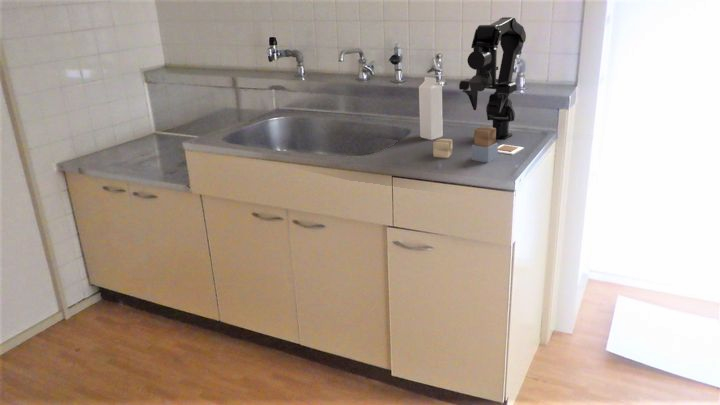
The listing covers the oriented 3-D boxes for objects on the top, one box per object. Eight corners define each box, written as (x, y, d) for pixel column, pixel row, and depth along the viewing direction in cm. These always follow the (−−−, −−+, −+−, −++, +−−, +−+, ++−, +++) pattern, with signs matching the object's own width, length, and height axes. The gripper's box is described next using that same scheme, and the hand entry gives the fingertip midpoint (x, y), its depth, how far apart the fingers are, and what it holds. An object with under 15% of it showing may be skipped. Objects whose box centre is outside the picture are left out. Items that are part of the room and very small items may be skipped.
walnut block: (481, 141, 197) (482, 126, 195) (495, 143, 194) (496, 128, 192) (474, 145, 193) (474, 130, 191) (488, 147, 190) (488, 131, 188)
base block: (481, 155, 199) (481, 140, 197) (497, 157, 195) (497, 143, 194) (471, 160, 195) (471, 145, 193) (488, 162, 191) (488, 147, 189)
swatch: (502, 145, 208) (502, 143, 207) (523, 148, 203) (524, 146, 202) (491, 151, 202) (491, 149, 202) (512, 154, 197) (513, 152, 197)
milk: (431, 140, 220) (429, 79, 211) (419, 137, 224) (418, 78, 216) (443, 136, 223) (442, 77, 215) (431, 133, 227) (430, 75, 219)
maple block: (438, 152, 205) (438, 138, 203) (452, 153, 203) (452, 139, 201) (433, 157, 201) (433, 142, 199) (447, 158, 199) (447, 143, 197)
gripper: (450, 67, 197) (450, 113, 203) (501, 70, 185) (500, 119, 191) (467, 61, 205) (467, 106, 210) (518, 64, 193) (516, 112, 199)
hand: (486, 111), depth 203 cm, fingers open, 9 cm apart
